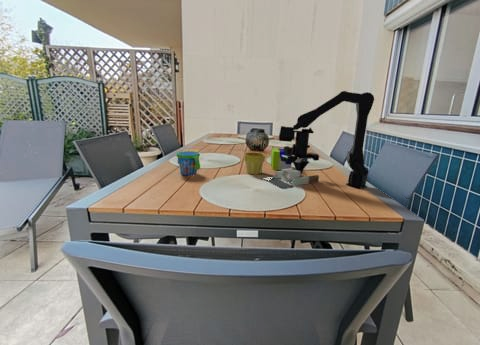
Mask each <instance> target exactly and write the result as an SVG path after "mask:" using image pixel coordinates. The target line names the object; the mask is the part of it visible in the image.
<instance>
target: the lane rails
mask: <svg viewBox="0 0 480 345" xmlns="http://www.w3.org/2000/svg"><path fill="white" fill-rule="evenodd" d="M281 174H282V170H276V171H275V172H274V178H276V179H281ZM319 177H320V176H319V175H318V174H316V175H308V176H300V177H299V178H292V183H290V185H295V186H300V185H307V184H315V183H318V182H319V179H320V178H319Z"/></svg>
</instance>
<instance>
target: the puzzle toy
mask: <svg viewBox="0 0 480 345" xmlns="http://www.w3.org/2000/svg"><path fill="white" fill-rule="evenodd" d="M282 155H286V153H284V148H276V147H275V148H271V155H270V167H271V169H272V170H274V171H275V170H276V171H282V169H290V168H292V164H293V163H286V162H283V161H281V156H282Z"/></svg>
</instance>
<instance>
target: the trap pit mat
mask: <svg viewBox="0 0 480 345" xmlns="http://www.w3.org/2000/svg"><path fill="white" fill-rule="evenodd" d="M269 177H273V178H272V179H271V178H270V179H271V180H269V182H271V183H273V184H272V185H274V184H275V185H274V186H276V185H277V186H276V187H278V186H279V187H278V188H280V189H282V188H284V189H288V188H287V187H290V188H294V186H292V185H291V183H288V182H285V181H283V180H281V179H280V178H275V176H269ZM267 181H268V180H267ZM267 181H266V182H267ZM269 182H268V183H269ZM271 183H270V184H271Z"/></svg>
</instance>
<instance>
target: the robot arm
mask: <svg viewBox="0 0 480 345" xmlns="http://www.w3.org/2000/svg"><path fill="white" fill-rule="evenodd" d="M343 102H346V103H351V104H355V109H356V121H355V127H354V128H355V129H354V134H353V143H352V149H351V151H347V156H346V162H347V164H348V166H349V167H350V169H351V171H350V172H349V174H348V179H347V180H348V181H347V182H346V184H345V186H350V187H352V188H355V189H359V190H360V189H365V188H368V185H366V184H367V178H368V174H369V170H368V168H367V167H365V156H364V146H365V145H364V144H365V139H366V138H365V136H366V130H367V125H368V124H367V123H368V118H369V115H370V112H371V110H372V107H373V104H374V102H375V97H374V94H372V93H371V92H363V93H357V92H349V91H346V90H342V91H340V92H339V93H338V94H336V95H335V96H334V97H332V98H331V99H328V100H327V101H326V102H324V103H323V104H321V105H319V106H318V107H317V108H315V109H312V110H309V111H308V112H305V113H303V114H300V115H299V116H298V118H297V120H296V124H294V125H293V126H286V125H281V126H280V130H279V133H278V135H279V136H278V141H279V142H290V143H291V142H292V141H294V140H295V142H294V143H293V144H292V147H290V146H289V145H287V146H285V145H284V146H283V149H284V153H286V155H282V156H281V161H283V162H286V163H292V164H293V165H294V169H296V170H298V171H301V172H300V175H302V173H303V172H304V169H305V168H306V167H307V166H308V164H309V163H311V162H310V161H309V160H310V159H312V160H313V161H316V162H317V161H319V159H320V155H319V154H318V153H314V152H308V149H310V147H311V145H309V139H310V134H314V130H313V129H312V127H309V126H311V125H312V123H314V122H315V121H316V120H317V119H318V118H319V117H320V116H323V114H325V113H327V112H329V111H330V110H332V109H333V108H335V107H337V106H338V105H340V104H341V103H343ZM307 127H309V128H307ZM301 128H302V129H301ZM299 129H301V130H299Z"/></svg>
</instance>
